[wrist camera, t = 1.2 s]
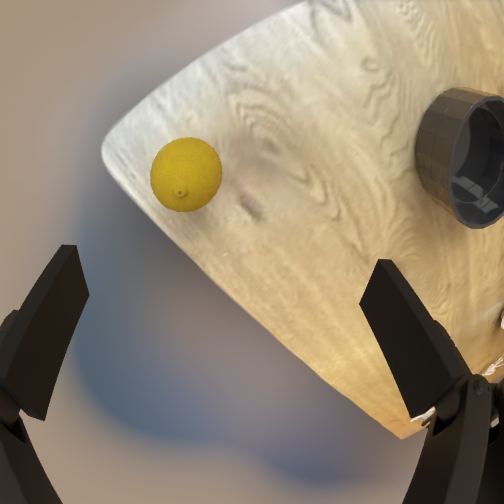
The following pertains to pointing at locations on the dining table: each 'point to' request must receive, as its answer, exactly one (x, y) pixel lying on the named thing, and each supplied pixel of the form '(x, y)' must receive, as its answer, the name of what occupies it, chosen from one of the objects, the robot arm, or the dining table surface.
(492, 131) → the black mixing bowl
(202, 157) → the lemon
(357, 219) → the dining table surface
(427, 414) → the dried plant stem
